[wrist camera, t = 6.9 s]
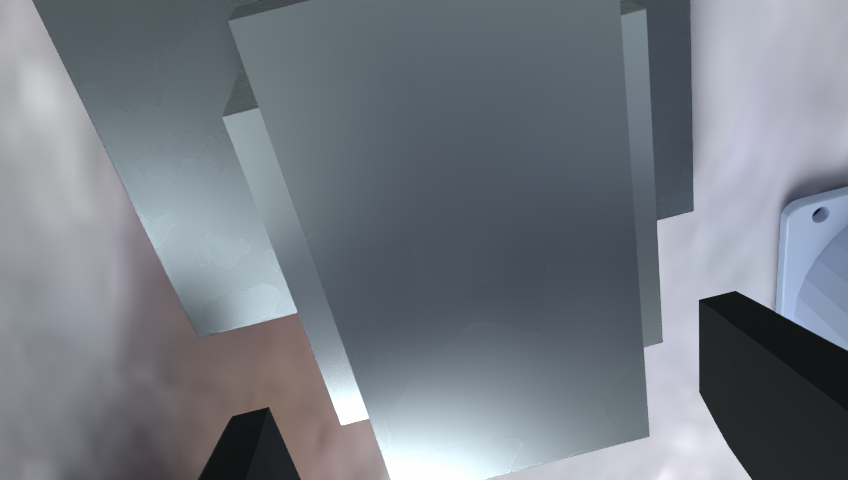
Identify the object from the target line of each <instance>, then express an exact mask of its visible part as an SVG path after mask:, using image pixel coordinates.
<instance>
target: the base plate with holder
mask: <svg viewBox="0 0 848 480" xmlns="http://www.w3.org/2000/svg"><path fill="white" fill-rule="evenodd" d="M32 1H33V3H34V5H35V7H36V9H37V11H38V13H39V15H40V17H41V19H42V21H43V23H44V25H45V27H46V29H47V31H48V33H49V35H50V37H51V39H52V41H53V43H54V45H55V47H56V49H57V52H58V54H59V56H60V58H61V60H62V62H63V64H64V66H65V68H66V70H67V72H68V74H69V76H70V78H71V80H72V82H73V84H74V86H75V88H76V90H77V92H78V94H79V96H80V98H81V100H82V102H83V104H84V106H85V109H86V111H87V113H88V115H89V117H90V119H91V121H92V123H93V125H94V127H95V129H96V131H97V133H98V135H99V137H100V139H101V141H102V143H103V145H104V147H105V149H106V151H107V153H108V155H109V157H110V159H111V161H112V163H113V166H114V168H115V170H116V172H117V174H118V176H119V178H120V180H121V182H122V184H123V186H124V188H125V190H126V192H127V194H128V196H129V198H130V200H131V202H132V204H133V206H134V208H135V210H136V212H137V214H138V216H139V218H140V220H141V223H142V225H143V227H144V229H145V231H146V233H147V235H148V237H149V239H150V241H151V243H152V245H153V247H154V249H155V251H156V253H157V255H158V257H159V259H160V261H161V263H162V265H163V267H164V269H165V271H166V273H167V275H168V277H169V280H170V282H171V284H172V286H173V288H174V290H175V292H176V294H177V296H178V298H179V300H180V302H181V304H182V306H183V308H184V310H185V312H186V314H187V316H188V318H189V320H190V322H191V324H192V326H193V328H194V330H195V332H196V334H197V337H198V338H201V337H205V336H209V335H213V334H217V333H221V332H225V331H229V330H232V329H236V328H240V327H244V326H248V325H252V324H256V323H260V322H264V321H267V320H271V319H275V318H279V317H283V316H287V315H291V314H295V313H298V312H297V309H296V307H295V304H294V302H293V299H292V296H291V294H290V291H289V289H288V286H287V283H286V281H285V278H284V276H283V273H282V271H281V268H280V265H279V263H278V260H277V258H276V255H275V252H274V250H273V247H272V245H271V242H270V240H269V237H268V234H267V232H266V229H265V227H264V224H263V221H262V219H261V216H260V214H259V211H258V209H257V206H256V203H255V201H254V198H253V196H252V193H251V190H250V188H249V185H248V183H247V180H246V178H245V175H244V172H243V170H242V167H241V165H240V162H239V159H238V157H237V154H236V152H235V149H234V147H233V144H232V141H231V139H230V136H229V134H228V131H227V128H226V126H225V123H224V121H223V118H222V116H223V114H224V111H225V108H226V105H227V103H228V100H229V97H230V94H231V92H232V89H233V86H234V83H235V81H236V78H237V75H238V72H239V70H240V67H241V64H242V59H241V56H240V54H239V51H238V48H237V45H236V42H235V40H234V37H233V34H232V31H231V28H230V26H229V23H228V20H229V18H230V16H231V14H232V12H233V11H234V9H235V7H238V6H242V5H245V4H249V3H253V2H257V1H261V0H32ZM629 1H631V2H633V3H635V4H637V5H639V6H641V7H643V8H645V9H646V16H647V36H648V56H649V77H650V97H651V117H652V137H653V158H654V178H655V198H656V218H657V220H660V219H664V218H668V217H672V216H676V215H680V214H684V213H688V212H692V211H694V204H693V148H692V91H691V34H690V0H629Z"/></svg>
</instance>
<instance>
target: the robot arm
mask: <svg viewBox="0 0 848 480" xmlns="http://www.w3.org/2000/svg"><path fill="white" fill-rule="evenodd" d="M820 207H821V209H820V211H819V212H818V213H817V214H816V215H814V216H813V213H814V212H815V211H816V210H817V209H818V208H820ZM699 392H700V394H701V396H702V398H703V400H704V402H705V404H706V406H707V408H708V409H709V411H710V413H711V415H712V417H713V419H714V421H715V423H716V424H717V426H718V428H719V430H720V432H721V433H722V435H723V437H724V439H725V441H726V442H727V444H728V446H729V447H730V449H731V450H732V452H733V453H734V455H735V456H736V458H737V459H738V460H739V462H740V463H741V465H742V466H743V467H744V469H745V470H746V472H747V473H748V474H749V476H750V477H751V479H752V480H848V186H847V187H843V188H839V189H835V190H831V191H827V192H823V193H820V194H816V195H812V196H808V197H804V198H800V199H797V200H795V201H792V202H791V203H790V204H788V205H787V206H786V207H785V209H784V210H783V212H782V215H781V223H780V241H779V258H778V276H777V293H776V311H775V312H774V311H772V310H771V309H769V308H767V307H765V306H763V305H761V304H760V303H758V302H756V301H754V300H752V299H750V298H748V297H746V296H744V295H742V294H740V293H738V292H736V291H733V292H729V293H725V294H721V295H717V296H713V297H709V298H705V299H701V300H699ZM198 480H301V479H300V477H299V475H298V472H297V470H296V468H295V466H294V463H293V461H292V459H291V457H290V454H289V452H288V450H287V448H286V445H285V443H284V441H283V438H282V436H281V434H280V432H279V429H278V427H277V425H276V423H275V420H274V418H273V416H272V413H271V411H270V409H269V407H268V408H264V409H260V410H256V411H252V412H248V413H244V414H240V415H236V416H232V418H231V419H230V421H229V422H228V424H227V426H226V428H225V430H224V431H223V433H222V435H221V437H220V439H219V441H218V443H217V445H216V447H215V448H214V450H213V452H212V454H211V456H210V458H209V460H208V462H207V464H206V465H205V467H204V469H203V471H202V473H201V475H200V477H199V478H198Z"/></svg>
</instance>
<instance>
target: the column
mask: <svg viewBox="0 0 848 480" xmlns="http://www.w3.org/2000/svg"><path fill="white" fill-rule="evenodd" d="M228 23H229V26H230V28H231V31H232V34H233V37H234V40H235V42H236V45H237V48H238V51H239V54H240V56H241V59H242V64H241V67H240V70H239V72H238V75H237V78H236V81H235V83H234V86H233V89H232V92H231V94H230V97H229V100H228V103H227V105H226V108H225V111H224V114H223V116H222V118H223V121H224V123H225V126H226V128H227V131H228V134H229V136H230V139H231V141H232V144H233V147H234V149H235V152H236V154H237V157H238V159H239V162H240V165H241V167H242V170H243V172H244V175H245V178H246V180H247V183H248V185H249V188H250V190H251V193H252V196H253V198H254V201H255V203H256V206H257V209H258V211H259V214H260V216H261V219H262V221H263V224H264V227H265V229H266V232H267V234H268V237H269V240H270V242H271V245H272V247H273V250H274V252H275V255H276V258H277V260H278V263H279V265H280V268H281V271H282V273H283V276H284V278H285V281H286V283H287V286H288V289H289V291H290V294H291V296H292V299H293V302H294V304H295V307H296V309H297V312H298V314H299V317H300V320H301V322H302V325H303V327H304V330H305V333H306V335H307V338H308V340H309V343H310V345H311V348H312V351H313V353H314V356H315V358H316V361H317V364H318V366H319V369H320V371H321V374H322V376H323V379H324V382H325V384H326V387H327V389H328V392H329V395H330V397H331V400H332V402H333V405H334V407H335V410H336V413H337V415H338V418H339V420H340V423H341V425H344V424H348V423H352V422H356V421H360V420H364V419H368V418H369V419H370V422H371V425H372V428H373V430H374V433H375V436H376V439H377V442H378V444H379V447H380V450H381V453H382V456H383V459H384V461H385V464H386V467H387V470H388V473H389V475H390V478H391V480H483V479H487V478H491V477H495V476H499V475H502V474H506V473H510V472H514V471H518V470H522V469H526V468H529V467H533V466H537V465H541V464H545V463H549V462H553V461H556V460H560V459H564V458H568V457H572V456H576V455H580V454H583V453H587V452H591V451H595V450H599V449H603V448H607V447H610V446H614V445H618V444H622V443H626V442H630V441H634V440H638V439H641V438H645V437H649V422H648V407H647V392H646V378H645V363H644V348H643V347H647V346H650V345H654V344H658V343H662V342H663V340H662V319H661V299H660V279H659V259H658V238H657V218H656V198H655V178H654V158H653V137H652V117H651V97H650V77H649V56H648V36H647V16H646V9H645V8H643V7H641V6H639V5H637V4H635V3H633V2H631V1H629V0H261V1H257V2H253V3H249V4H245V5H242V6H238V7H235V9H234V11H233V12H232V14H231V16H230V18H229V20H228Z"/></svg>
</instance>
